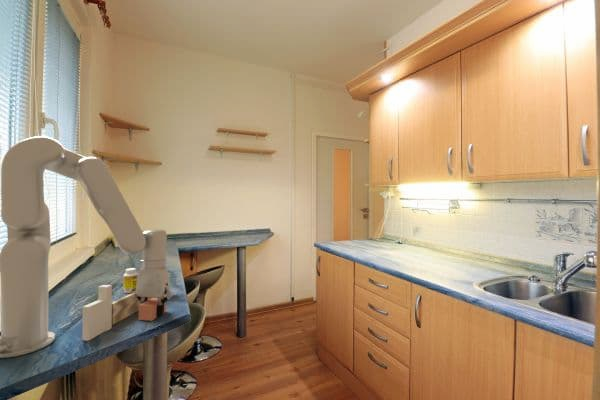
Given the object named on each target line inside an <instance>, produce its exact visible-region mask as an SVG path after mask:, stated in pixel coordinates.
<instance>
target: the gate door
mask: <svg viewBox="0 0 600 400" xmlns="http://www.w3.org/2000/svg"><path fill="white" fill-rule="evenodd" d="M133 293H134V292H133ZM133 293H128V295H125V296H123V297H122V298H119V299H116V300H115V301H112V326H114V325H115V324H117V323H119V322H121V321H122V320H124V319H126V318H128V317H129V316H132V315H134V313H136V312H139V305H140V301H139V300H138V298H137V297H136V296H135V295H134V294H133ZM150 299H152V298H150V297H149V298H148V300H150Z"/></svg>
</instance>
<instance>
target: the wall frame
mask: <svg viewBox="0 0 600 400" xmlns="http://www.w3.org/2000/svg"><path fill="white" fill-rule="evenodd" d="M169 272H170V271H168V275H169ZM112 289H113V285H111V284H102V285H99V286H98V288H97V290H98V291H97V294H98V295H97V300H95V301H93V302H91V303H88V304H85V305H83V306H82V326H81V327H82V335H81V336H82V337H81V338H82V341H87V342H89V341H90V340H92V339H94V338H96V337H98V336H100V335H101V334H102V333H104V332H107V331H109V330H111V329H112V327H113V325H112V302H113V294H112V293H113V292H112V291H113V290H112ZM166 296H167V294H165V297H166Z"/></svg>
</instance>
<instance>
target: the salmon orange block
mask: <svg viewBox="0 0 600 400" xmlns="http://www.w3.org/2000/svg"><path fill="white" fill-rule="evenodd" d="M157 305H159V304H158V300H157V298H152V299H150V300H148V301H146V302H144V303H142V304H140V305H139V310H138V320H139V321H140V320H141V321H149V322H150V321H151V322H153V320H155V319H157V318H158V317H157ZM166 312H167V301H166V302H165V303H164V313H163V314H165V313H166Z"/></svg>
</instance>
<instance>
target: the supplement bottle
mask: <svg viewBox="0 0 600 400" xmlns="http://www.w3.org/2000/svg"><path fill="white" fill-rule="evenodd" d="M138 274H139V272H137V268H135V267H129V268H126V269H125V273H124V274H123V278H122V279H123V280H122V281H123V283H122V284H123V287H122V288H123V293H124V294H132V293H134V291H135V290H136V286H137V279H138Z"/></svg>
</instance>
